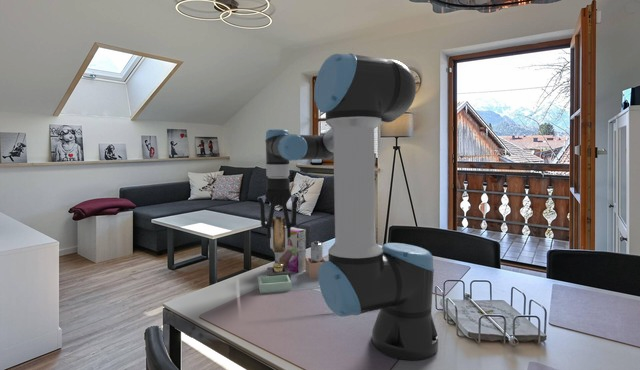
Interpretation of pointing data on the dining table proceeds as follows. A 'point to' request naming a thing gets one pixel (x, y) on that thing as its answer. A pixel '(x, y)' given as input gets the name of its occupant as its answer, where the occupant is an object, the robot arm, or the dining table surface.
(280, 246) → the copper cell
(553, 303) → the dining table surface
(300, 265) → the candy bar box
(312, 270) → the battery sorting tray
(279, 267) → the brass short cylinder
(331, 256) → the robot arm
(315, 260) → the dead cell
